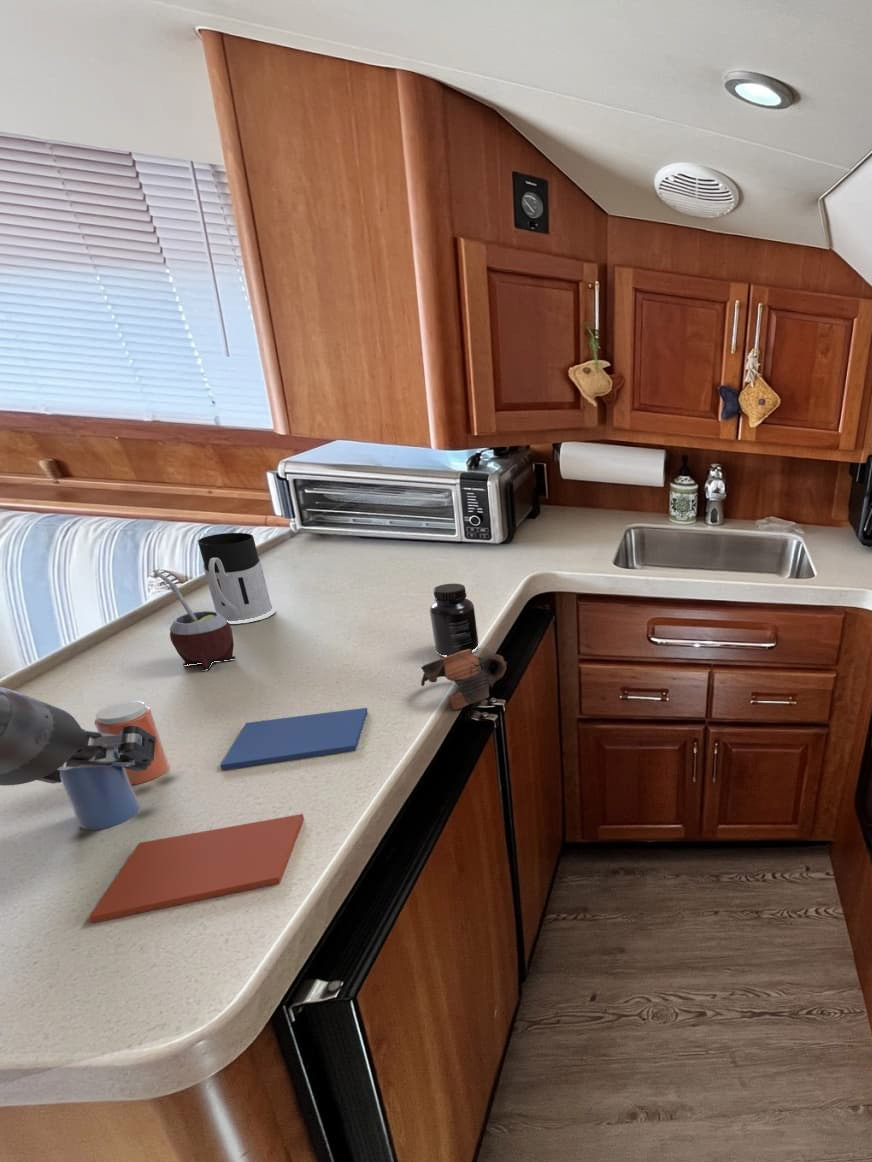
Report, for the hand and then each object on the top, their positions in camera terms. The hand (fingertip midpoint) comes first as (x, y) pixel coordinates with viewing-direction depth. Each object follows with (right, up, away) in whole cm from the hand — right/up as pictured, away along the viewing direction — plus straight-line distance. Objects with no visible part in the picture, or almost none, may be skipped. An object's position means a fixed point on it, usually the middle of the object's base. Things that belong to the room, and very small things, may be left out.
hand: (102, 767), depth 70 cm
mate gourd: (-18, +8, +32) cm, 38 cm away
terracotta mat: (+16, -9, -5) cm, 19 cm away
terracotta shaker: (-3, -3, +7) cm, 8 cm away
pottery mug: (+25, +4, +30) cm, 39 cm away
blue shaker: (0, -6, +1) cm, 6 cm away
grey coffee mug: (-25, +14, +46) cm, 55 cm away
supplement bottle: (+16, +9, +43) cm, 47 cm away
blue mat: (+9, 0, +16) cm, 18 cm away
